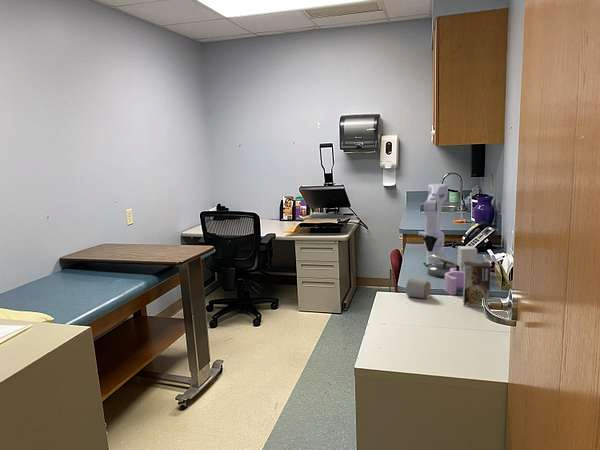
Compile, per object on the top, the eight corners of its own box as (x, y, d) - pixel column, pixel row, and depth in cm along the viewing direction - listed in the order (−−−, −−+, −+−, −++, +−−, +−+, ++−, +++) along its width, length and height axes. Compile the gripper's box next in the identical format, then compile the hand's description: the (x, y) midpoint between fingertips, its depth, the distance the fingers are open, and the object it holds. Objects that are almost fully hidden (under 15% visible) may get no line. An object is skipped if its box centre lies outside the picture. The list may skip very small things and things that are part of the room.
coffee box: (487, 302, 167) (489, 262, 164) (489, 308, 161) (491, 265, 158) (462, 300, 169) (464, 260, 167) (463, 306, 163) (465, 264, 161)
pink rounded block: (444, 282, 197) (444, 267, 196) (473, 284, 193) (474, 268, 192) (444, 294, 178) (444, 278, 177) (476, 297, 174) (477, 280, 173)
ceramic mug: (425, 301, 170) (426, 282, 169) (405, 298, 174) (405, 279, 173) (433, 294, 178) (433, 276, 177) (413, 291, 183) (414, 274, 182)
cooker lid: (440, 262, 218) (441, 259, 218) (462, 268, 206) (463, 264, 207) (423, 254, 211) (424, 251, 211) (445, 259, 200) (446, 255, 200)
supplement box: (472, 270, 216) (473, 245, 214) (476, 274, 208) (477, 248, 207) (456, 270, 216) (457, 245, 215) (460, 274, 209) (461, 248, 207)
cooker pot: (437, 268, 221) (437, 260, 220) (467, 276, 205) (467, 267, 205) (417, 272, 214) (418, 263, 213) (447, 280, 198) (447, 271, 198)
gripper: (414, 223, 218) (413, 249, 220) (436, 226, 205) (435, 254, 207) (424, 222, 221) (423, 248, 223) (446, 225, 209) (445, 253, 211)
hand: (430, 251), depth 216 cm, fingers closed
